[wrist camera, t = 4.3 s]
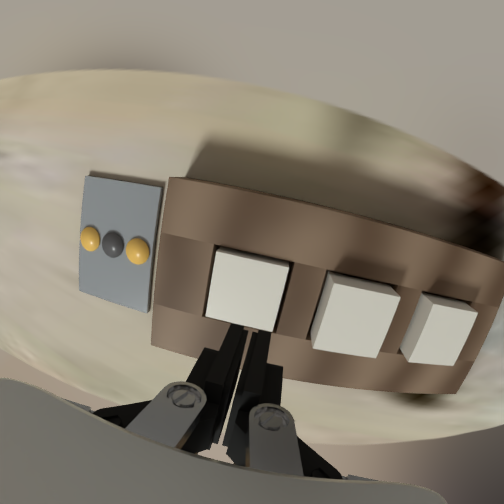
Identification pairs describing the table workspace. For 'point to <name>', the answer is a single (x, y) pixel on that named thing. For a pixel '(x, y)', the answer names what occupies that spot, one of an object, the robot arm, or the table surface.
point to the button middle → (353, 315)
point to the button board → (314, 282)
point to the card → (118, 240)
